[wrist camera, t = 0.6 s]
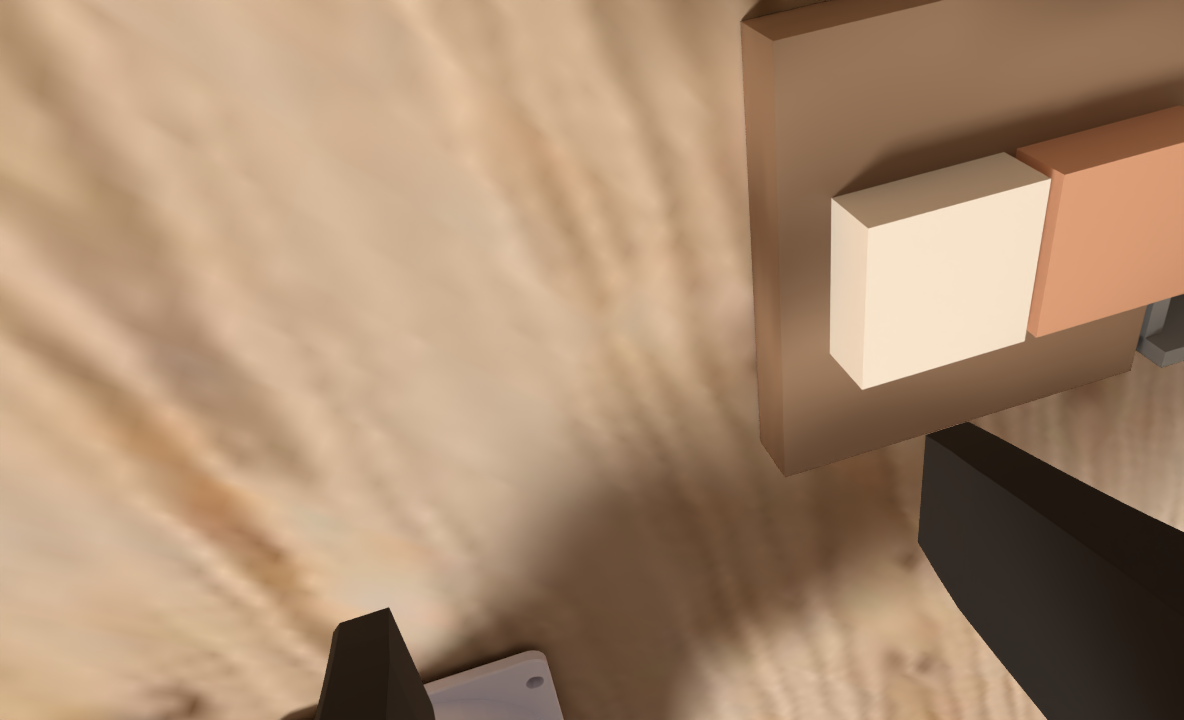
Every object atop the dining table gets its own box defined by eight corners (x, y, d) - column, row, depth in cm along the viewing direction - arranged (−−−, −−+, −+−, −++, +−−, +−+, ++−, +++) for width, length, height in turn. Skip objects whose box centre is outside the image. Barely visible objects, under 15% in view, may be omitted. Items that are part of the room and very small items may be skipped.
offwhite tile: (983, 308, 22) (1024, 341, 20) (829, 353, 21) (862, 389, 20) (1004, 152, 19) (1051, 178, 18) (831, 198, 19) (868, 228, 18)
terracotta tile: (1141, 262, 22) (1189, 291, 21) (995, 305, 22) (1036, 337, 21) (1179, 104, 20) (1236, 128, 19) (1016, 148, 19) (1065, 174, 18)
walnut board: (1091, 341, 26) (1130, 370, 24) (760, 441, 24) (785, 477, 23) (1183, -83, 19) (1242, -72, 18) (740, 21, 18) (773, 41, 17)
